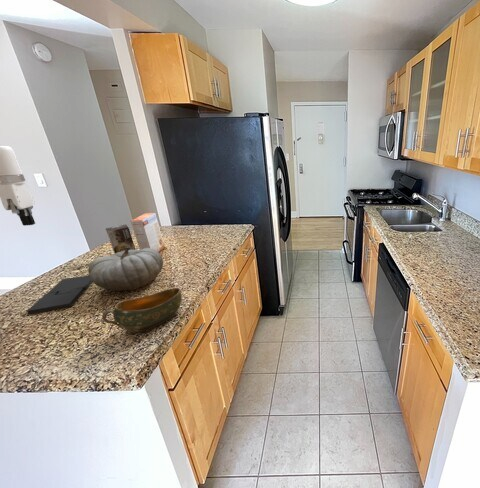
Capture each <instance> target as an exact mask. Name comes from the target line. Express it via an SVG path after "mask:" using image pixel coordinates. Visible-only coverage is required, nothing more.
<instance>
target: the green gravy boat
mask: <svg viewBox="0 0 480 488" xmlns="http://www.w3.org/2000/svg"><path fill="white" fill-rule="evenodd" d="M181 304H182V291H181V289H180V288H179V287H174V288H168V289H165V290H161V291H159V292H155V293H153V294H149V295H144V296H140V297H134V298H129V299H125V300H121V301H118V302H117V303H116V304H115V305H114V308H113V309H107V310H104V311H103V312H102V315H101V319H102V321H103V322H105V323H107V324H111V325H114V326H117V327H119V328H120V329H121V330H126V331H128V332H130V333H132V334H140V333H143V332H146V331H149V330H151V329H153V328H156V327H159V326H160V325H162V324H164V323H166V322H168V321H169V320H171V319H173V317H175V316H176V314H178V310H179V309H180V306H181ZM110 313H112V314H113V321H112V320H108V319H107V316H108V314H110Z"/></svg>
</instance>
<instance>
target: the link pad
mask: <svg viewBox="0 0 480 488" xmlns="http://www.w3.org/2000/svg"><path fill="white" fill-rule="evenodd" d="M92 284H93V282H92V281H91V279H90V276H89V274H88V275H82V276H75V277H74V276H73V277H69V278H68V277H67V278H62V279H61V280H60V281H59V282H58V283H56V284H55V285H54V286H53V287H52V288H51V289H50V290H49V291H47V293H53V292H57V295H58V294H64V293H70V292H71V291H72V290H73V289H78V288H84V291H87V289H88V288H89V287H90V286H91V285H92Z"/></svg>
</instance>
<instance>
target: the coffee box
mask: <svg viewBox="0 0 480 488" xmlns="http://www.w3.org/2000/svg"><path fill="white" fill-rule="evenodd" d="M105 231H106V234H107V237H108V239H109V242H110V245H111V247H112V251H113V254H115V253H118V252H121V251H125V250H126V247H129V250H137V248H136V246H135V243H134V239H133V236H132V233H131V231H130V228H129V226H128V225H127V224H121V225H116V226H111V227H106V228H105Z"/></svg>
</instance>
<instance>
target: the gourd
mask: <svg viewBox="0 0 480 488" xmlns="http://www.w3.org/2000/svg"><path fill="white" fill-rule="evenodd" d="M163 267H164V259H163V256H162V254H161V253H160V252H158V251H156V250H155V249H151V248H144V249H141V250H140V249H136V250H129V247H126V250H125V251H121V252H118V253H115V254H114V253H113V254H112V255H111V254H110V255H103V256H99V257H97V258H94V259H93V260H92V261H91V262H90V263H89V265H88V269H87V270H88V275H89V276H90V279H91V281H92V284H94V285H96V286H98V288H101V289H104V290H112V291H126V290H128V291H133V290H138V289H140V288H142V287H144V286H145V285H146V284H148V283H150V282H152V281H154V280H155V279H156V277H158V275H159V274H160V273H161V272H162V269H163Z"/></svg>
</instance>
